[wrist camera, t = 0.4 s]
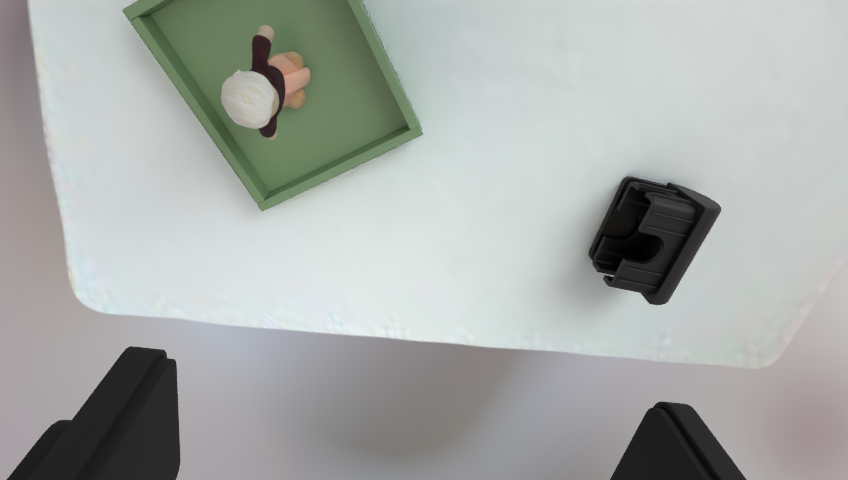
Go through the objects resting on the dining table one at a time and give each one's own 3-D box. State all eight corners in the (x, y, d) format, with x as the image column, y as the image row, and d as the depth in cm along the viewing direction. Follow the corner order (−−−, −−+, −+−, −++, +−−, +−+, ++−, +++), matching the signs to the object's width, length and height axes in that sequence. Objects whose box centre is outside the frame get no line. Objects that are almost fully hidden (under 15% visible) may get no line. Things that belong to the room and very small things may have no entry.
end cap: (645, 273, 50) (680, 311, 44) (584, 260, 49) (611, 297, 43) (692, 186, 46) (738, 215, 40) (627, 169, 45) (663, 197, 39)
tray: (137, 9, 36) (121, 10, 34) (316, -95, 34) (311, -101, 32) (268, 201, 44) (262, 211, 42) (421, 127, 42) (423, 134, 40)
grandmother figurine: (320, 118, 41) (294, 166, 29) (275, 122, 40) (231, 173, 29) (302, 18, 37) (263, 29, 26) (252, 23, 37) (191, 37, 26)
